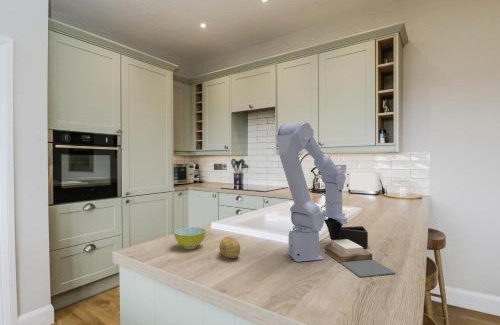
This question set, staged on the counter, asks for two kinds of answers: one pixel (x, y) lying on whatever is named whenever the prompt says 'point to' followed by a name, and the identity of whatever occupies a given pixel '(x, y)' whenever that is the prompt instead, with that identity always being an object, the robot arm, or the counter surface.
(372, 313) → the counter surface
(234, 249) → the potato
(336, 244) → the cream rectangular tile
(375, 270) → the mat
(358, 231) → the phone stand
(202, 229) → the bowl
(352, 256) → the brown block
